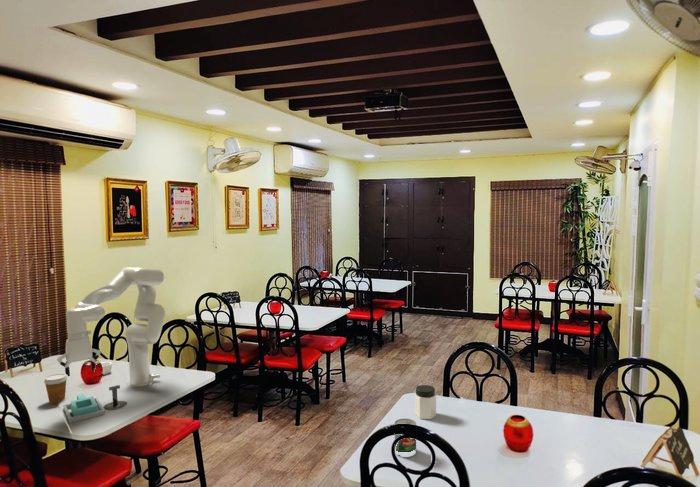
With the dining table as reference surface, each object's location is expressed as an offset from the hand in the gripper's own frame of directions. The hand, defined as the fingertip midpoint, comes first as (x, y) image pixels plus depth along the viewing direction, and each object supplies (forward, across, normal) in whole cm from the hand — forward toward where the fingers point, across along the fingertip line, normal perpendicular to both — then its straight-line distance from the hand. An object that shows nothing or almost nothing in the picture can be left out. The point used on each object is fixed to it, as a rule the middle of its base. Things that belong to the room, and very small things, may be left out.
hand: (80, 372), depth 221 cm
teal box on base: (+15, +1, +4) cm, 16 cm away
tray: (+17, +1, +5) cm, 18 cm away
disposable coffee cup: (+18, +8, -19) cm, 27 cm away
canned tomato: (+18, -86, +119) cm, 148 cm away
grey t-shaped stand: (+18, -12, +7) cm, 22 cm away
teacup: (+18, -17, -47) cm, 53 cm away
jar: (+18, -115, +102) cm, 155 cm away
